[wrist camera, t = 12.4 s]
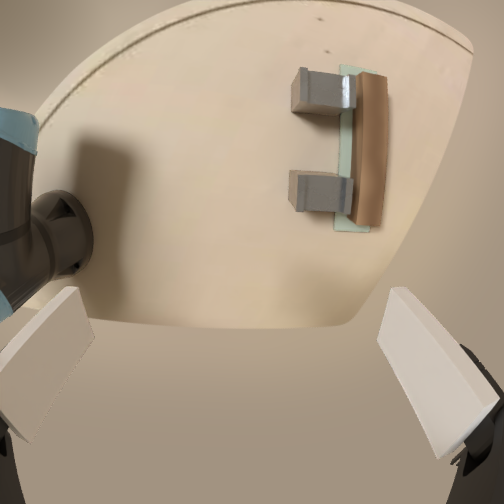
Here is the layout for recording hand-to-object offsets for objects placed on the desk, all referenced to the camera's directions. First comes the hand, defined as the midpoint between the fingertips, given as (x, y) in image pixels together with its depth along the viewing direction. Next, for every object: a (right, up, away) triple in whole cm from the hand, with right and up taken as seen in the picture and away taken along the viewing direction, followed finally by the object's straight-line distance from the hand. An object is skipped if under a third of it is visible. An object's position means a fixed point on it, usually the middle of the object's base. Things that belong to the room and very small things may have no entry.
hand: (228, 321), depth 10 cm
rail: (+16, +17, +22) cm, 32 cm away
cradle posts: (+9, +17, +23) cm, 30 cm away
